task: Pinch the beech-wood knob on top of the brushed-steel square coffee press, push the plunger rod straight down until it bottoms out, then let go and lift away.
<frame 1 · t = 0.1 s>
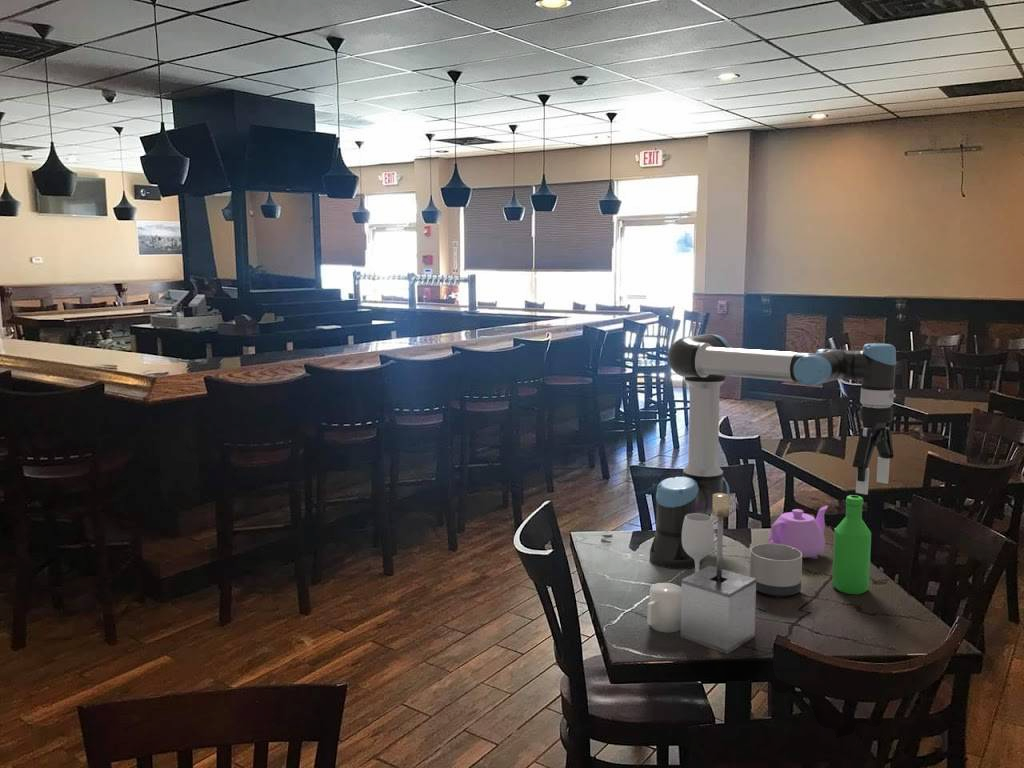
hand: (872, 488, 199), 28 cm above the table, fingers open, 13 cm apart
planter: (774, 590, 205), on the table
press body: (717, 636, 179), on the table
bottle: (850, 589, 205), on the table
teapot: (798, 555, 230), on the table
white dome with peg: (665, 625, 186), on the table
plunger: (719, 545, 176), point 22 cm above the table, slide at 9.0 cm
wineglass: (696, 596, 202), on the table
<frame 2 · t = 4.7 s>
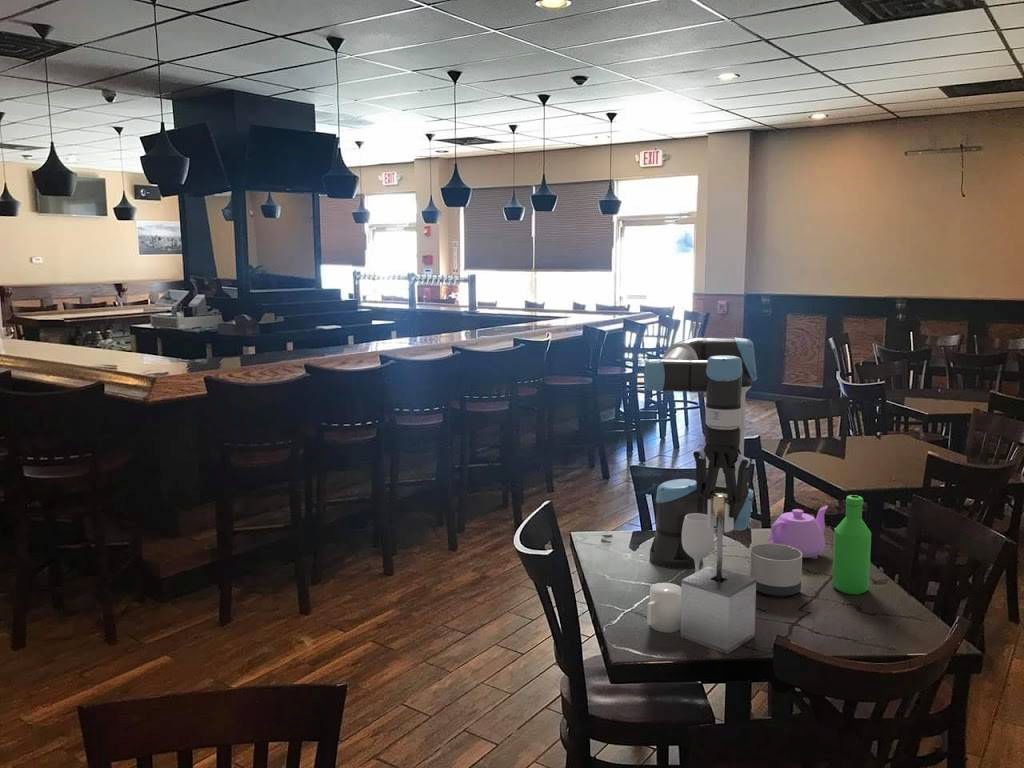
hand: (720, 528, 176), 26 cm above the table, fingers closed on plunger, 4 cm apart
plunger: (719, 545, 176), point 22 cm above the table, slide at 9.0 cm, touching gripper
everything else where it was.
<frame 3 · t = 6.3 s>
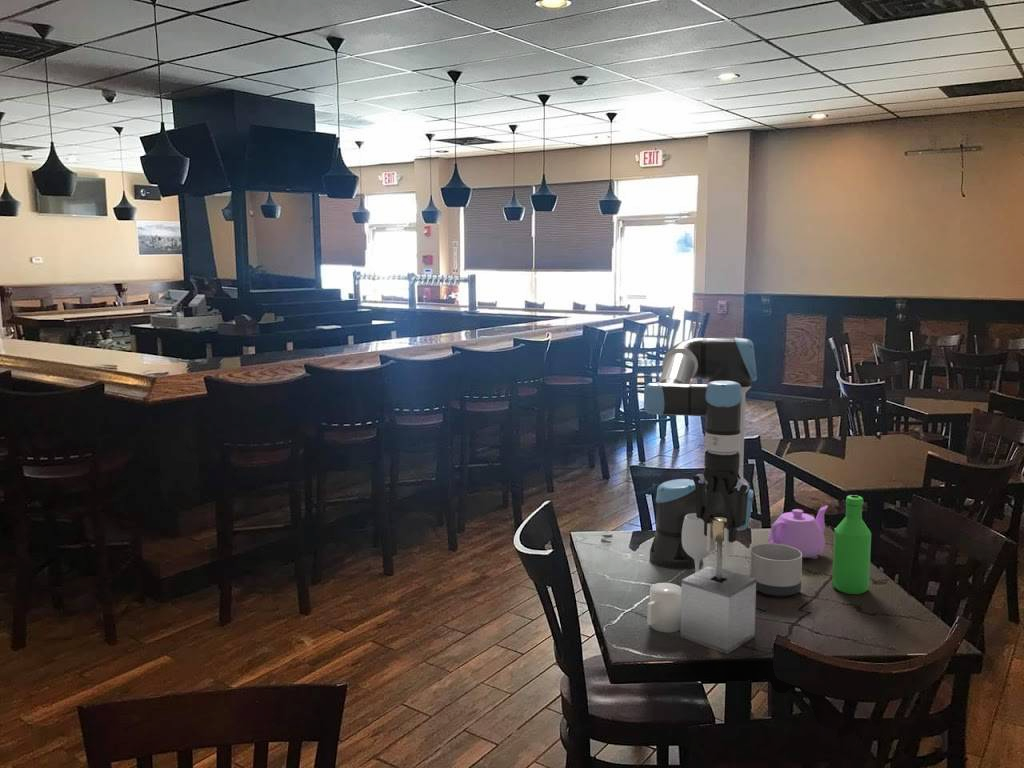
hand: (719, 552, 176), 20 cm above the table, fingers closed on plunger, 4 cm apart
plunger: (719, 569, 177), point 16 cm above the table, slide at 3.4 cm, touching gripper
everything else where it was.
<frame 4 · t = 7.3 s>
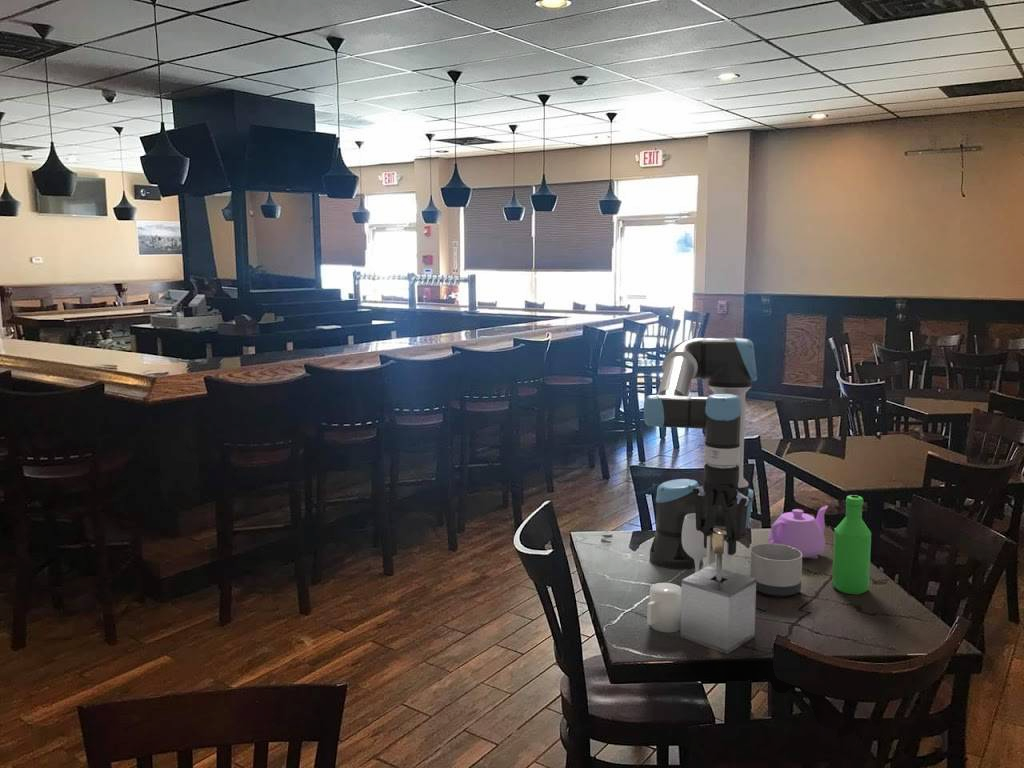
hand: (719, 564, 177), 17 cm above the table, fingers closed on plunger, 4 cm apart
plunger: (718, 581, 177), point 13 cm above the table, slide at 0.4 cm, touching gripper
everything else where it was.
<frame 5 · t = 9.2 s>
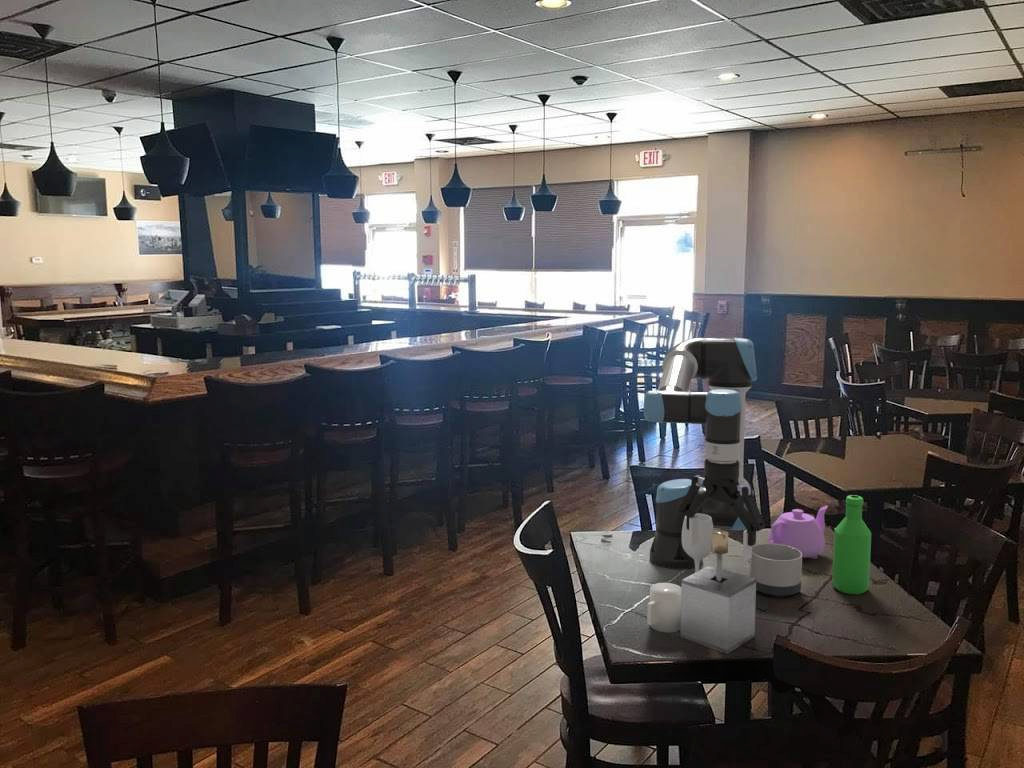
hand: (719, 551, 177), 20 cm above the table, fingers open, 13 cm apart
plunger: (718, 581, 177), point 13 cm above the table, slide at 0.4 cm
everything else where it was.
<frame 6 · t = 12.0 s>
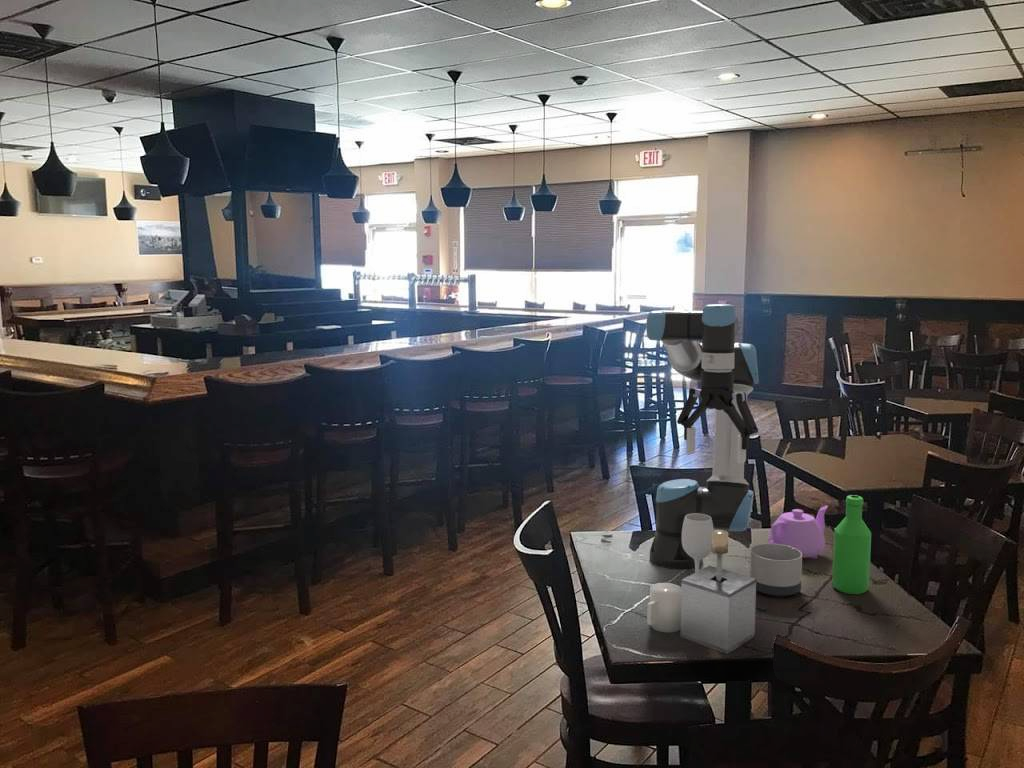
hand: (715, 458, 187), 39 cm above the table, fingers open, 13 cm apart
nothing on the table moved.
at the end: plunger slide at 0.4 cm; the gripper is holding nothing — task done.
